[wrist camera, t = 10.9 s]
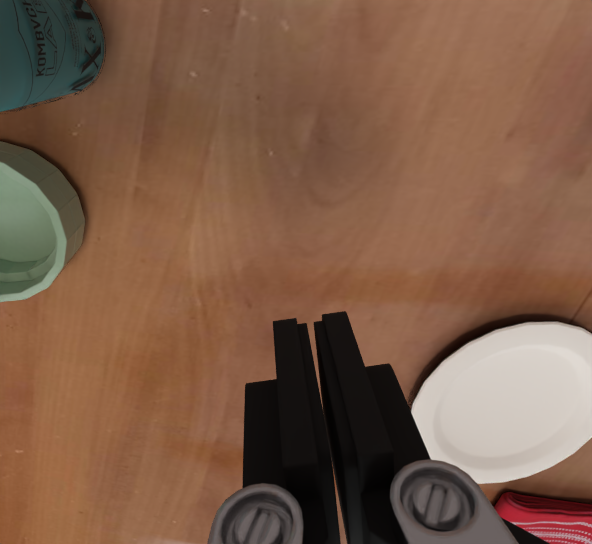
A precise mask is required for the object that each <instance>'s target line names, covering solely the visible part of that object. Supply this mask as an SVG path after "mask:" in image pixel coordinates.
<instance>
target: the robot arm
mask: <svg viewBox="0 0 592 544" xmlns="http://www.w3.org/2000/svg"><path fill="white" fill-rule="evenodd" d="M314 330H315V340H316V349H317V358H318V367H319V377H320V386H321V395H322V404H323V409H322V404H321V398H320V393H319V388H318V382H317V377H316V371H315V366H314V361H313V355H312V350H311V345H310V339H309V334H308V328H307V323H303V324H297V319H296V318H293V319H286V320H279V321H273V331H274V346H275V361H276V375H277V379H274V380H267V381H260V382H253V383H246V385H245V412H244V452H243V489H240V490H238V491H236V492H235V493H234V494H232V495H231V496H230V497H229V498H227V499H226V500H225V502H224V503H223V504H222V505H221V507H220V508H219V509H218V511H217V513H216V515H215V518H214V520H213V523H212V526H211V531H210V535H209V539H208V543H207V544H341V543H340V533H339V524H338V514H337V504H336V495H335V485H334V475H333V469H334V474H335V480H336V485H337V491H338V496H339V501H340V507H341V512H342V517H343V523H344V528H345V534H346V539H347V544H550V543H548V542H546V541H544V540H543V539H541V538H539V537H537V536H535V535H533V534H531V533H529V532H528V531H526V530H524V529H522V528H520V527H518V526H516V525H515V524H513V523H511V522H509V521H507V520H505V519H503V518H501V517H500V516H499V514H498V513H497V511H496V510H495V509H494V507H493V506H492V504H491V503H490V501H489V500H488V498H487V497H486V496H485V494H484V493H483V491H482V490H481V488H480V487H479V485H478V484H477V483H476V482H475V481H474V480H473V479H472V478H471V477H470V475H469V474H467V473H466V472H464V471H463V470H461V469H460V468H458V467H457V466H455V465H452V464H449V463H447V462H444V461H438V460H431V458H430V456H429V454H428V451H427V449H426V446H425V444H424V442H423V439H422V437H421V435H420V432H419V430H418V428H417V425H416V423H415V420H414V418H413V416H412V413H411V411H410V409H409V406H408V404H407V401H406V399H405V397H404V394H403V392H402V390H401V387H400V385H399V383H398V380H397V378H396V375H395V373H394V371H393V369H392V367H391V365H390V364H382V365H374V366H367V367H365V366H364V363H363V360H362V357H361V354H360V351H359V348H358V345H357V342H356V339H355V336H354V333H353V330H352V327H351V324H350V321H349V319H348V316H347V313H346V312H345V311H344V312H337V313H330V314H322V321H318V322H314ZM323 413H324V414H323ZM331 458H332V459H331ZM332 464H333V467H332Z"/></svg>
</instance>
